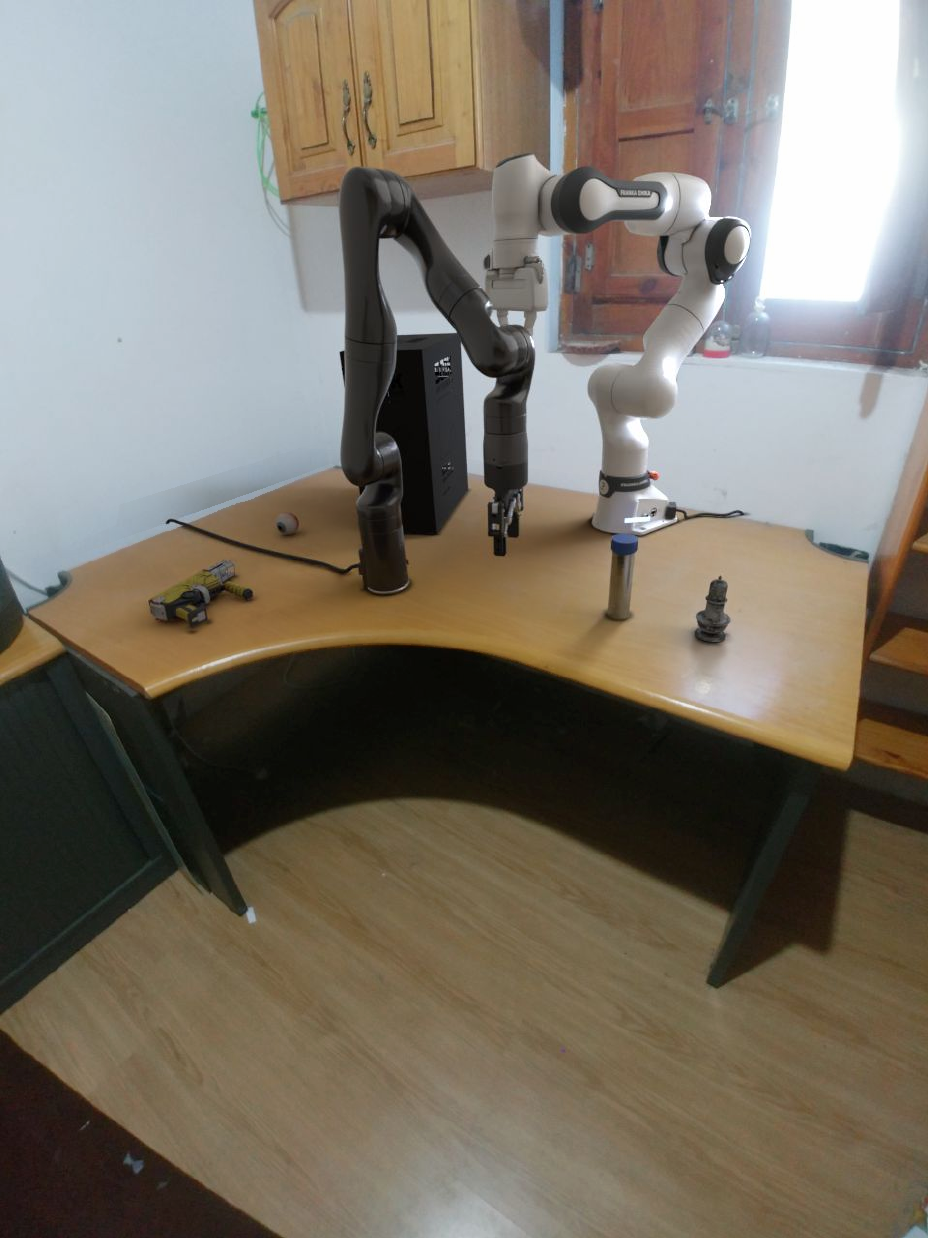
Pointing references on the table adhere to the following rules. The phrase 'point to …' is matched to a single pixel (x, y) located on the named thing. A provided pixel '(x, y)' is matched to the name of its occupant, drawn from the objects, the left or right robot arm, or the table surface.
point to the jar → (620, 585)
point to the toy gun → (196, 595)
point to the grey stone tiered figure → (713, 613)
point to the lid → (624, 544)
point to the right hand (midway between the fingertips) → (516, 335)
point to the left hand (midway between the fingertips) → (506, 546)
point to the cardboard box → (426, 428)
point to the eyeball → (287, 523)
